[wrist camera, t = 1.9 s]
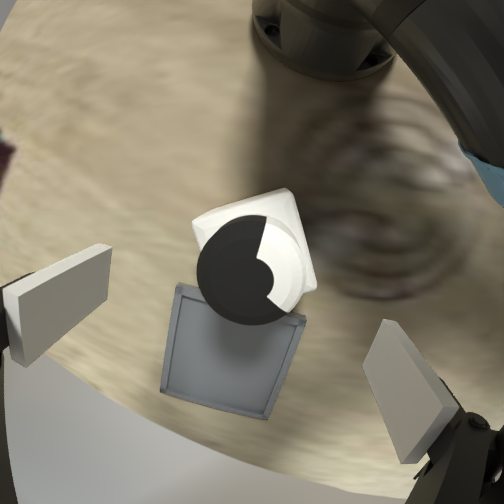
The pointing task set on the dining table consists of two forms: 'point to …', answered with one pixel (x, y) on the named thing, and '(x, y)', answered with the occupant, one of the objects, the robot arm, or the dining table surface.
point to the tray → (226, 357)
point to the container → (254, 258)
